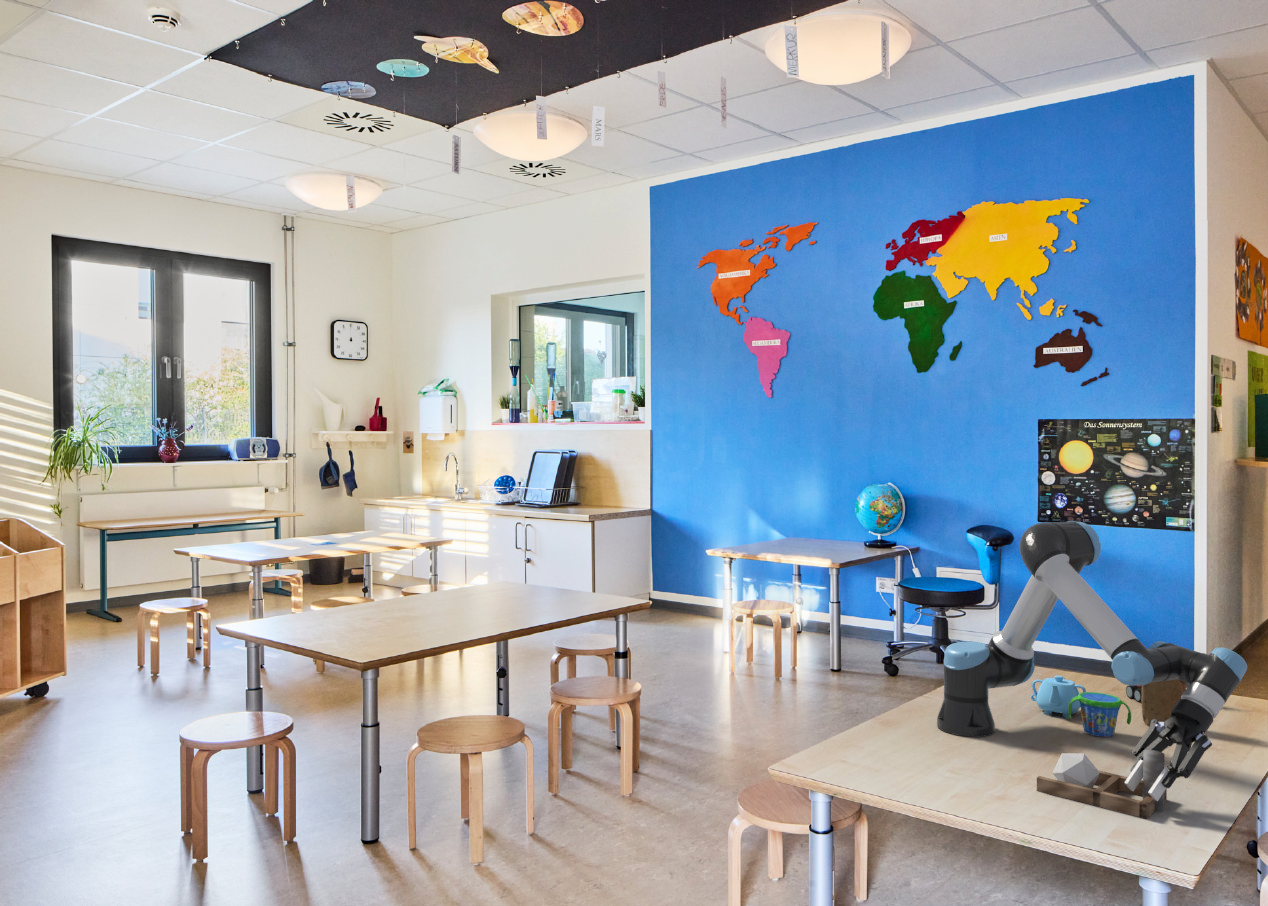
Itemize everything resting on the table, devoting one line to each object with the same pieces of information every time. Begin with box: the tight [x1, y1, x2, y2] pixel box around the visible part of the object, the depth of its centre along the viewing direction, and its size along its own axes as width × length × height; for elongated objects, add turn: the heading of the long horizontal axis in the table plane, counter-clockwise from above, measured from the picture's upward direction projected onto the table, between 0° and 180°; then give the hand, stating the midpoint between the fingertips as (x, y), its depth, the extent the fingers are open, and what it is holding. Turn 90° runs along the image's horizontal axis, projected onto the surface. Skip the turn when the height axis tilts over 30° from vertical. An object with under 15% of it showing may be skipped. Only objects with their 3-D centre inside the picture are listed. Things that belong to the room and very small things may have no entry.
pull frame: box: [1036, 750, 1168, 820], centre depth 209 cm, size 24×15×12 cm, turn 46°
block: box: [1140, 679, 1187, 727], centre depth 262 cm, size 11×8×20 cm
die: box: [1052, 752, 1100, 789], centre depth 213 cm, size 8×9×10 cm
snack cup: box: [1068, 691, 1132, 738], centre depth 255 cm, size 16×10×10 cm
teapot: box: [1030, 675, 1087, 719], centre depth 274 cm, size 13×14×11 cm
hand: (1140, 791), depth 200 cm, fingers open, 5 cm apart
